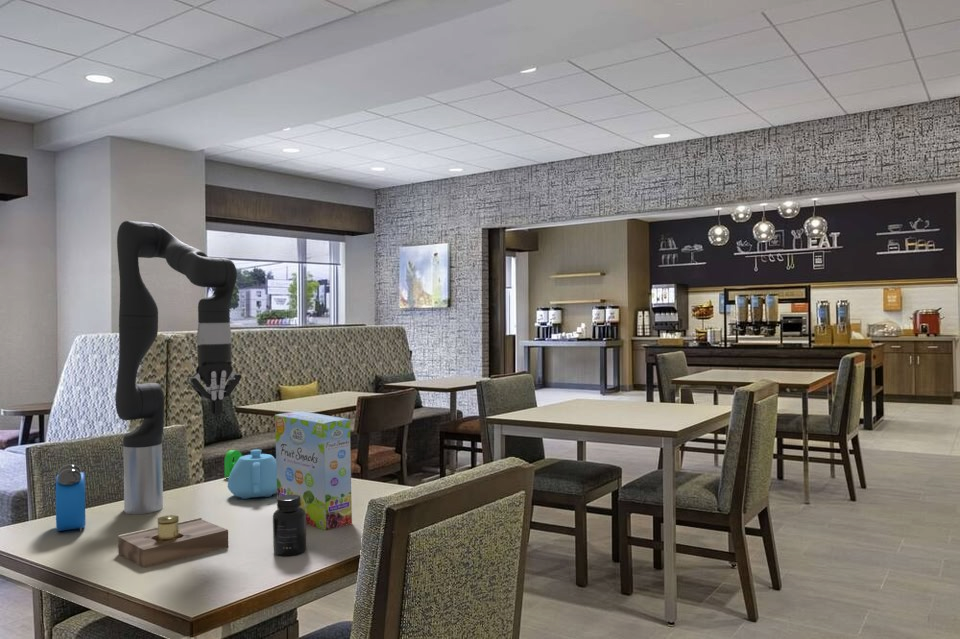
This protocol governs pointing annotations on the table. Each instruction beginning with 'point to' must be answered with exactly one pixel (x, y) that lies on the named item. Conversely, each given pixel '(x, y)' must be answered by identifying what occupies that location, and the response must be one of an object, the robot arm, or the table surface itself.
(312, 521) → the snack box
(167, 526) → the brass cylinder plug
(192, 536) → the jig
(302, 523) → the supplement bottle
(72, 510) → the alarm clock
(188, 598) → the table surface
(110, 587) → the table surface
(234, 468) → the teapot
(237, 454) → the mechanical part
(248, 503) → the table surface
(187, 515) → the table surface
